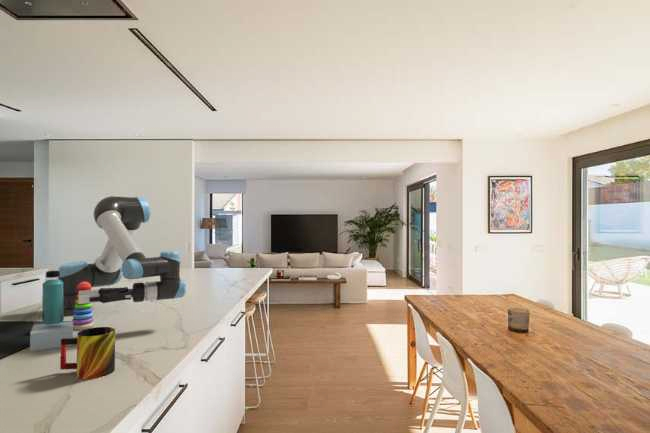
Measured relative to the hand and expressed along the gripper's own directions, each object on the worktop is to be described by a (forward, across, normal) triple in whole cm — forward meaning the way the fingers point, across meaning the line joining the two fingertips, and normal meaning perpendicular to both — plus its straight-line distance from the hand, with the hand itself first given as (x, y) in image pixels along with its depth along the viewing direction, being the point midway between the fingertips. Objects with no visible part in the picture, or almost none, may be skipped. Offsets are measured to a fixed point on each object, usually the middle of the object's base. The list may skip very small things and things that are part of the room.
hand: (78, 297), depth 145 cm
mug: (-3, -37, -16) cm, 41 cm away
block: (+8, 0, -16) cm, 18 cm away
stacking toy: (-1, +18, -16) cm, 24 cm away
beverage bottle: (+8, 0, -10) cm, 13 cm away
